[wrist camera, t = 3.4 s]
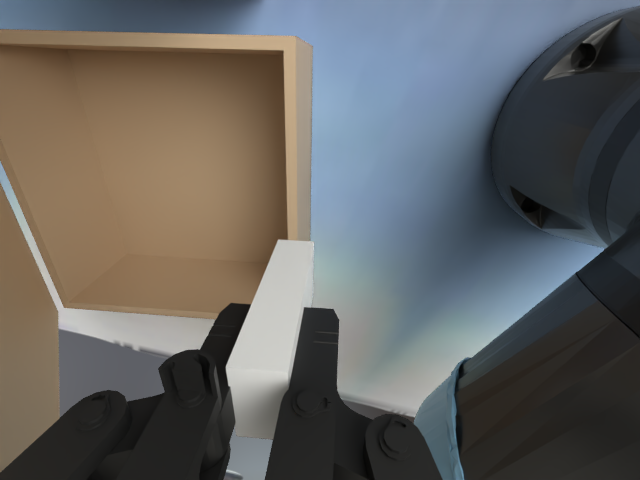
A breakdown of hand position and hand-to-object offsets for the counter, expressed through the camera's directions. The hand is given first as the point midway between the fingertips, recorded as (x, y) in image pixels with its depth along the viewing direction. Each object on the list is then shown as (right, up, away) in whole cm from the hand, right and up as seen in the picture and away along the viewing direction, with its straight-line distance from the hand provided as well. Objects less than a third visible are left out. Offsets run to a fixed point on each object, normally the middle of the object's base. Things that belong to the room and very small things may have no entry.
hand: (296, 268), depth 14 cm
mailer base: (-9, +7, +13) cm, 17 cm away
